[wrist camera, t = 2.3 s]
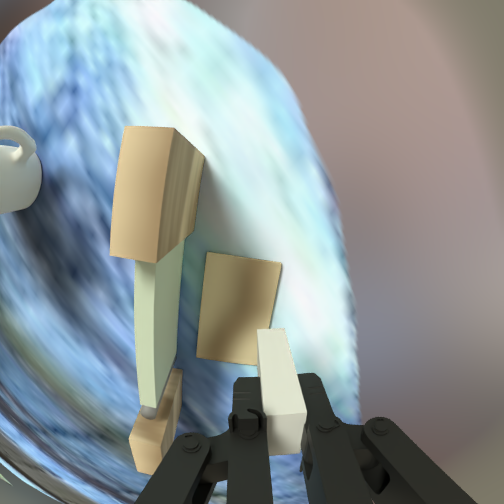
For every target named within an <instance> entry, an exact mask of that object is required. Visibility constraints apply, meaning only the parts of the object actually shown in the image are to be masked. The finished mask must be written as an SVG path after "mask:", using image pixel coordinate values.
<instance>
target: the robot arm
mask: <svg viewBox="0 0 504 504" xmlns="http://www.w3.org/2000/svg"><path fill="white" fill-rule="evenodd" d="M257 370H258V377H238V379H237V380H236V382H235V383H234V386H233V405H232V412H231V413H230V415H229V417H228V423H229V429H228V430H227V431H226V432H225V433H223V434H221V435H218V436H214V437H210V438H206V437H205V436H203V435H201V434H199V433H192V432H190V433H184V434H182V435H180V436H178V437H177V438H176V439H175V440H174V442H173V443H172V445H171V446H170V448H169V450H168V451H167V453H166V455H165V456H164V458H163V459H162V461H161V463H160V464H159V466H158V467H157V469H156V471H155V472H154V474H153V475H152V477H151V478H150V480H149V482H148V483H147V485H146V486H145V488H144V489H143V491H142V493H141V494H140V496H139V497H138V499H137V500H136V502H135V503H134V504H208V502H209V500H210V498H211V495H212V493H213V491H214V488H215V486H216V483H217V482H220V481H224V480H227V504H273V495H272V484H271V474H270V463H269V456H274V455H287V454H297V453H300V450H302V455H303V456H302V461H301V465H300V472H302V471H303V474H304V479H305V484H306V490H307V495H308V500H309V504H373V502H372V500H373V501H374V503H375V504H477V503H476V502H475V501H474V500H473V499H472V498H471V497H470V496H469V495H468V494H467V493H466V492H465V491H463V490H462V489H461V488H460V487H459V486H458V485H457V484H456V483H455V482H454V481H453V480H452V479H451V478H450V477H449V476H448V475H447V474H445V472H444V471H442V469H440V468H439V467H438V466H437V465H436V464H435V463H434V462H433V461H432V460H431V459H430V458H429V457H428V456H427V455H426V454H425V453H424V452H423V451H422V450H421V449H420V448H419V447H418V446H417V445H416V444H415V443H414V442H413V441H412V440H411V439H410V438H409V437H408V436H407V435H406V434H405V433H404V432H403V431H402V430H401V429H400V428H399V427H398V426H397V425H396V424H395V423H394V422H393V421H391V420H390V419H388V418H384V417H375V418H372V419H370V420H368V421H367V422H366V424H365V425H350V424H346V423H343V422H342V421H341V420H340V419H339V418H338V417H336V416H335V415H334V413H333V410H332V407H331V405H330V402H329V399H328V397H327V394H326V392H325V389H324V387H323V384H322V381H321V379H320V378H319V377H318V376H317V375H316V374H315V373H304V374H297V373H296V369H295V365H294V362H293V358H292V354H291V351H290V347H289V343H288V340H287V336H286V332H285V329H284V328H279V329H257Z"/></svg>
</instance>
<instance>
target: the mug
mask: <svg viewBox="0 0 504 504" xmlns="http://www.w3.org/2000/svg"><path fill="white" fill-rule="evenodd" d="M1 139H9V140H13V141H15V142H17V143H19V144H20V147H19V148H18V147H11V146H3V145H0V214H4V213H9V212H12V211H17V210H21V209H25V208H27V207H29V206H30V205H31V204H32V203H33V202H34V201H35V199H36V197H37V195H38V193H39V190H40V186H41V180H42V169H41V163H40V160H39V158H38V156H37V155H36V153H35V151H36V144H35V141H34V140H33V139H32V138H31V137H30V136H29V135H28V134H27V133H26V132H25V131H24V130H22V129H20V128H18V127H14V126H0V140H1Z"/></svg>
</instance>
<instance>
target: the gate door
mask: <svg viewBox="0 0 504 504" xmlns="http://www.w3.org/2000/svg"><path fill="white" fill-rule="evenodd" d="M184 242H185V239H184V240H183V241H182V242H180V243H179V244H178V245H177V246H176V247H175V248H173V249H172V250H171V251H170V252H169V253H168V254H166V255H165V256H164V257H163V258H162V259H161V260H160V261H159V262H157V263H150V262H145V261H139V260H135V285H134V320H135V348H136V364H137V376H138V387H139V396H140V404H141V405H142V408H141V410H140V414H141V415H142V416H143V417H144V418H146V419H149V420H153V419H155V418H156V415H157V412H158V409H159V406H160V403H161V400H162V397H163V394H164V392H165V389H166V386H167V383H168V380H169V377H170V374H171V372H172V369H173V366H174V363H175V360H176V352H177V329H178V311H179V297H180V284H181V272H182V261H183V252H184Z"/></svg>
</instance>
